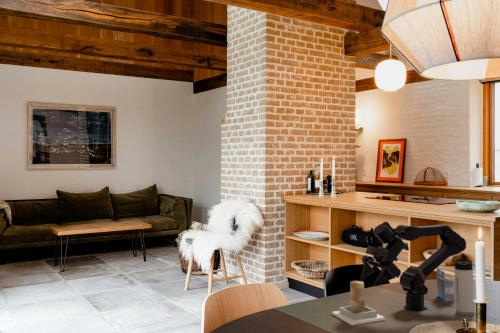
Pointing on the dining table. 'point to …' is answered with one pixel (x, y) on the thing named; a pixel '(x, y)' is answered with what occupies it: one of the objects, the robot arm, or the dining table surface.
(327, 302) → the dining table surface
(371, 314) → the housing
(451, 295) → the label tape box
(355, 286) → the tan cylinder
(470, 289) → the travel mug
